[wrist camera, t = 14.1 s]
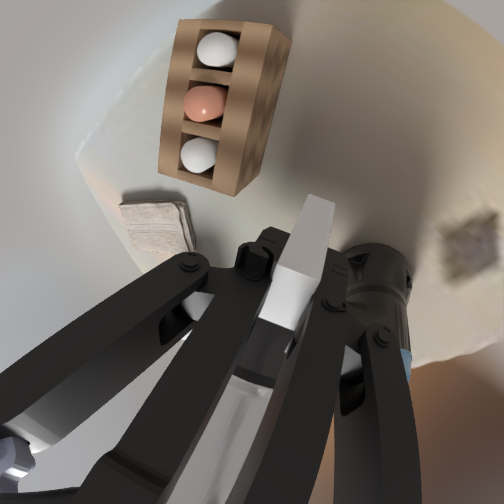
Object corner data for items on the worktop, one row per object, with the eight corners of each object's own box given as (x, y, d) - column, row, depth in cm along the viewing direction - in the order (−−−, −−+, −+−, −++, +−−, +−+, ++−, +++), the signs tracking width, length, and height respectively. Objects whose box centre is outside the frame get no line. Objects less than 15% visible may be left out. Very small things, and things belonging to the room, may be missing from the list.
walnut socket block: (258, 174, 42) (234, 197, 34) (193, 155, 44) (157, 172, 36) (291, 40, 29) (272, 24, 21) (215, 31, 31) (179, 19, 23)
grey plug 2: (235, 159, 40) (208, 176, 33) (210, 152, 41) (179, 168, 34) (240, 133, 38) (213, 144, 31) (214, 126, 39) (182, 136, 31)
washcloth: (201, 250, 56) (193, 259, 53) (138, 245, 62) (130, 252, 59) (187, 196, 49) (178, 202, 47) (123, 200, 56) (114, 205, 53)
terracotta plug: (241, 117, 36) (212, 125, 28) (214, 111, 36) (180, 118, 29) (247, 88, 33) (219, 88, 26) (219, 83, 34) (186, 84, 26)
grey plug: (254, 72, 32) (227, 68, 25) (226, 68, 33) (194, 64, 26) (260, 45, 29) (235, 33, 22) (231, 41, 30) (200, 31, 23)
